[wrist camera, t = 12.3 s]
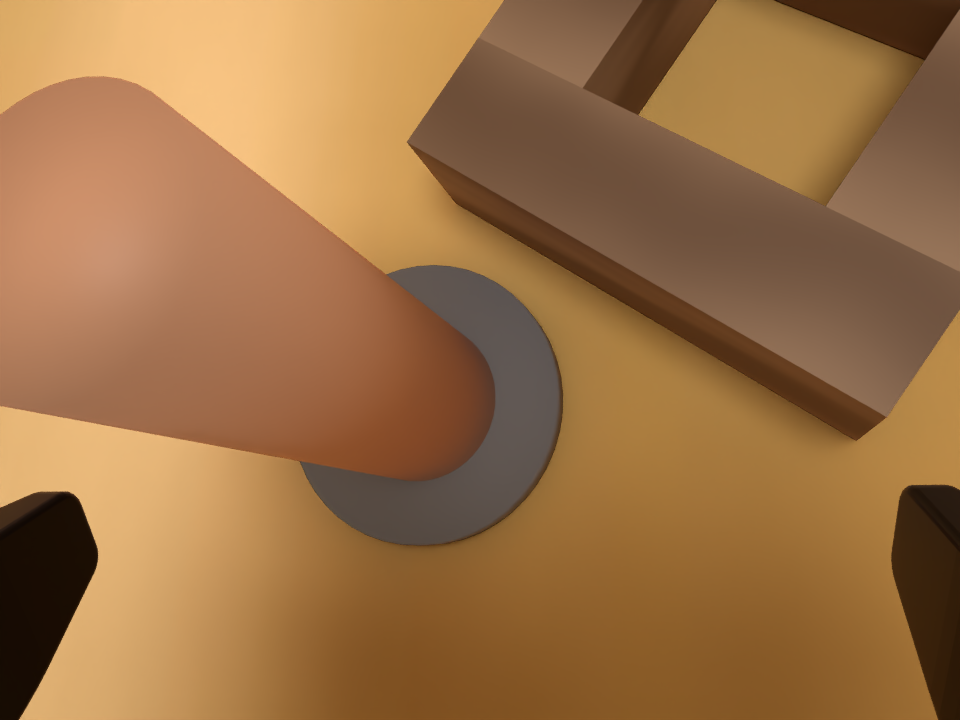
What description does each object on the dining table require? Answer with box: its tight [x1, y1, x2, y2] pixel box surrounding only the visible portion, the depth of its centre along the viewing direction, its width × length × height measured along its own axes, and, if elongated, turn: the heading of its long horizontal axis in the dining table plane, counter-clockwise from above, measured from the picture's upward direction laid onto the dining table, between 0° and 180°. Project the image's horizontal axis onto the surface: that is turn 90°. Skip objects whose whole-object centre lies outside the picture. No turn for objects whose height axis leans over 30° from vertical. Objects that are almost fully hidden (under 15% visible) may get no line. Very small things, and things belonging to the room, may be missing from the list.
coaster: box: [300, 265, 563, 545], centre depth 23 cm, size 8×8×1 cm
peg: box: [0, 77, 496, 481], centre depth 16 cm, size 4×4×13 cm
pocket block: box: [407, 0, 960, 441], centre depth 20 cm, size 13×13×4 cm
